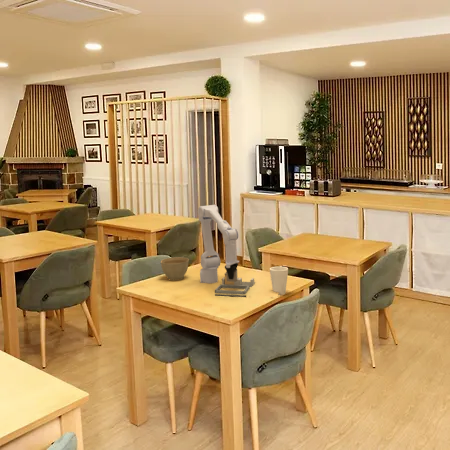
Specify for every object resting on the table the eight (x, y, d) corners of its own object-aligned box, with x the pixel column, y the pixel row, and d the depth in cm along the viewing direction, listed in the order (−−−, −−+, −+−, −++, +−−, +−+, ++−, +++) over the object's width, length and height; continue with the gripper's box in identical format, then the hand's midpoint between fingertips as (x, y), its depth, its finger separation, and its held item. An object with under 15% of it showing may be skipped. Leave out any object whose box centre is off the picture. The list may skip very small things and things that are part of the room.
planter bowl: (169, 274, 336) (168, 256, 334) (193, 275, 330) (193, 257, 328) (156, 281, 321) (155, 262, 319) (182, 283, 315) (181, 264, 314)
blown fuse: (226, 281, 289) (226, 270, 288) (228, 279, 292) (227, 268, 291) (236, 281, 288) (235, 270, 287) (237, 280, 291) (237, 269, 290)
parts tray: (214, 295, 288) (214, 290, 288) (220, 289, 299) (220, 284, 298) (245, 297, 284) (244, 291, 284) (249, 291, 295) (249, 285, 294)
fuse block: (251, 289, 297) (251, 281, 296) (220, 288, 301) (220, 280, 300) (255, 284, 306) (255, 276, 306) (225, 283, 311) (224, 275, 310)
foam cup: (283, 296, 283) (283, 271, 281) (267, 294, 288) (266, 269, 285) (291, 291, 291) (291, 267, 288) (275, 289, 295) (275, 265, 293)
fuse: (224, 284, 304) (224, 273, 303) (226, 282, 307) (226, 272, 306) (233, 284, 303) (233, 273, 302) (235, 283, 305) (234, 272, 304)
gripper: (235, 255, 280) (236, 282, 282) (241, 249, 294) (242, 274, 296) (221, 255, 282) (222, 281, 284) (228, 249, 295) (229, 274, 298)
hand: (231, 278), depth 290 cm, fingers closed on blown fuse, 3 cm apart
